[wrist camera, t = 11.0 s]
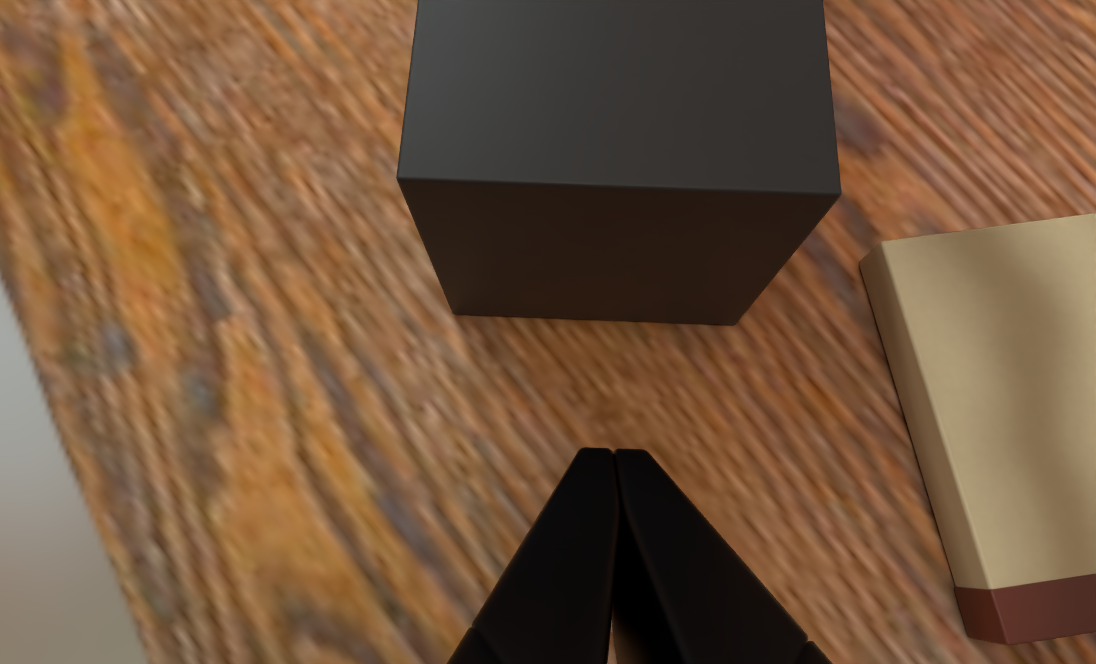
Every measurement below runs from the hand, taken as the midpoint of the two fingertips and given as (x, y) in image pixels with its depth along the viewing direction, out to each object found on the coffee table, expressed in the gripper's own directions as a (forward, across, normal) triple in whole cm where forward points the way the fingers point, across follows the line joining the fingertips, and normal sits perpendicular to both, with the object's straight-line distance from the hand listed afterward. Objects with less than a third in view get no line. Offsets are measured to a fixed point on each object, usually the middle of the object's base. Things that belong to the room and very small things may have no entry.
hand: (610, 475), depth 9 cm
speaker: (+15, 0, -1) cm, 15 cm away
